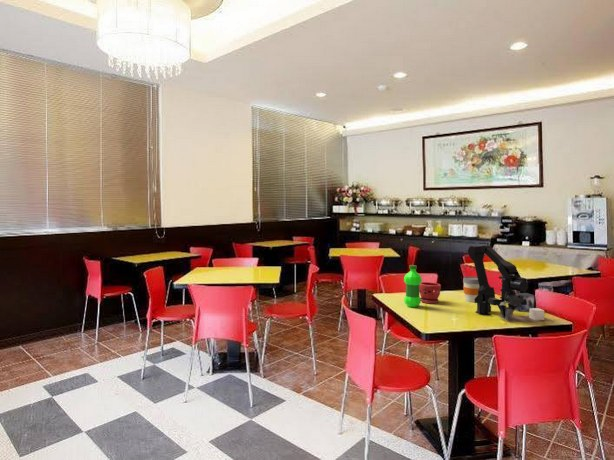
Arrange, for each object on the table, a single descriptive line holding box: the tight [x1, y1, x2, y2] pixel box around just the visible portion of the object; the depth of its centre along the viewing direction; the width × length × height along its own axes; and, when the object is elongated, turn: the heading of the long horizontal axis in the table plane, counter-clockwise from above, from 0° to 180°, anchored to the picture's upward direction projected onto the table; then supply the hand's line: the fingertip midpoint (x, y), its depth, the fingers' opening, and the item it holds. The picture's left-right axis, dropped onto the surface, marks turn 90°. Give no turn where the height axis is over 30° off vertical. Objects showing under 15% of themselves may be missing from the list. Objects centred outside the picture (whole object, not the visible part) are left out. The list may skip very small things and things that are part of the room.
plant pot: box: [419, 281, 442, 304], centre depth 259 cm, size 13×13×12 cm
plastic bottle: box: [403, 264, 423, 308], centre depth 247 cm, size 10×10×25 cm
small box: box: [514, 292, 535, 312], centre depth 236 cm, size 11×6×10 cm, turn 105°
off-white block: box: [528, 307, 545, 320], centre depth 217 cm, size 5×5×5 cm
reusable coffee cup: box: [462, 276, 479, 304], centre depth 262 cm, size 13×13×15 cm
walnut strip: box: [498, 306, 555, 323], centre depth 216 cm, size 24×12×7 cm, turn 94°
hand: (506, 317), depth 216 cm, fingers closed on walnut strip, 3 cm apart
